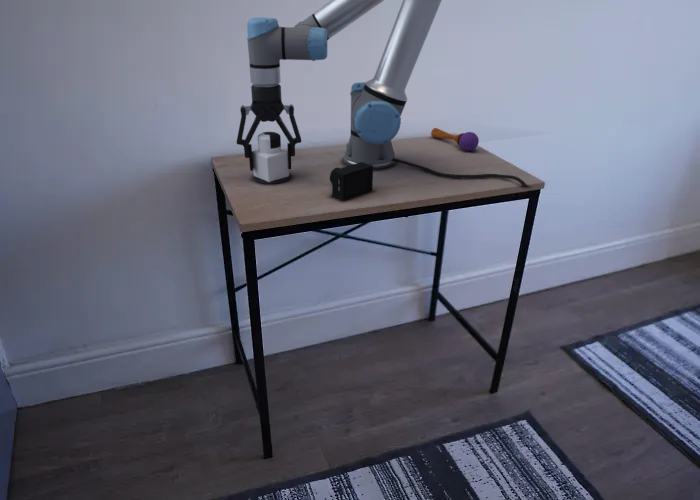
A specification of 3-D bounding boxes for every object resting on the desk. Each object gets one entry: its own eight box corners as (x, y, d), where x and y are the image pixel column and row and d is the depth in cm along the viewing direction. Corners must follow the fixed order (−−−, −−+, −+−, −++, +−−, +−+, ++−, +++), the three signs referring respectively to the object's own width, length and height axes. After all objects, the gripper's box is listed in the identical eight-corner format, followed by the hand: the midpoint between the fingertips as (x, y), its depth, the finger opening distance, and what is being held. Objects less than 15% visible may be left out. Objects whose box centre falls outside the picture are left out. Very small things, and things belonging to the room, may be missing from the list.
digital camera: (358, 185, 141) (358, 160, 137) (372, 191, 137) (373, 165, 134) (328, 195, 134) (328, 169, 131) (343, 201, 131) (343, 174, 128)
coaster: (295, 173, 148) (295, 172, 148) (281, 186, 140) (281, 184, 139) (263, 170, 151) (262, 168, 150) (247, 181, 142) (247, 180, 142)
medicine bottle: (273, 170, 149) (271, 128, 144) (289, 176, 145) (287, 133, 139) (253, 176, 145) (249, 133, 139) (268, 182, 140) (266, 138, 135)
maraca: (443, 124, 182) (484, 134, 166) (439, 141, 184) (480, 153, 168) (429, 123, 178) (470, 133, 163) (426, 141, 180) (466, 152, 165)
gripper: (308, 80, 138) (310, 162, 149) (221, 81, 135) (230, 165, 146) (311, 86, 131) (312, 171, 142) (219, 87, 129) (228, 174, 139)
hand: (270, 168), depth 144 cm, fingers closed on medicine bottle, 10 cm apart
